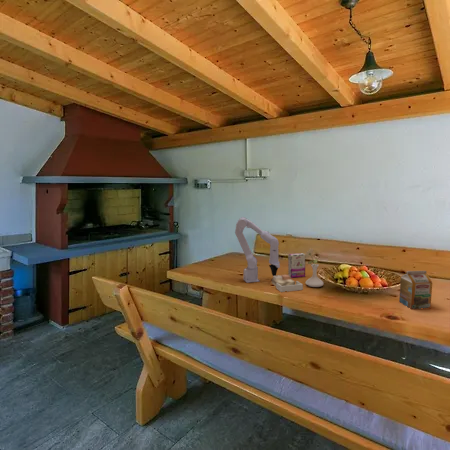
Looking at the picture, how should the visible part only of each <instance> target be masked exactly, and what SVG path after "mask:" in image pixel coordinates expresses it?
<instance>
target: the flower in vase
mask: <svg viewBox="0 0 450 450" xmlns="http://www.w3.org/2000/svg"><path fill="white" fill-rule="evenodd" d="M308 249H309V250H307V251H306V253H304V254H305V255H304V256H305V259H308V258H309V257H311V260H309V261H308V263H307V264H308V265H310V266H311V267H312V276H311V277H309V278H308V279H306V281H305V283H304V284H306V286H308V287H311V288H312V287H313V288H319V287H322V286H323V285H324V281H323V280H322V279H320V278H319V277H318V275H317V271H318V267H319V265H320V264H318V258H315V259H313V257H312V254H313V253H314V249H313V247H311V248H308Z"/></svg>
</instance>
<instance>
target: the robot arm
mask: <svg viewBox="0 0 450 450" xmlns="http://www.w3.org/2000/svg"><path fill="white" fill-rule="evenodd" d="M245 228H246V229H251V230H253V231H254V232H255V233H257V234H258V235H259V236H260V238H261V239H262V240H263V241H265V242H266V243H267V244H269V245H270V247H269V259H268V263H269V265H268V266H269V269H270V272H271V275H272V277H273V276H276V275H277V272H278V269H280V267H281V265H280V264H281V261H279V245H280V243H279V239H278V238H277V237H275V236H274V235H272V234H271V233H270V232H269V230H268V231H266V230H262V229H261V228H260V227H259V226H257V224H255V223H254V222H253V221H251V220H249V219H247V218H246V217H244V216H241V217H240V218H239V219H238V220H237V222H236V225H235V231H234V233H235V237H236V239H237V240H238V241H237V242H239V245H240V247H241V248H242V251H243V253H244V256H245V259H246V261H247V266H246V267H245V268H244V269H243V278H242V279H243V281H244V282H246V283H256V282H257V283H258V282H260V279H259V272H258V271H259V270H258V269H259V268H258V266H257V265H258V259H257V258H256V257H255V256H254V254H253V253H252V250H251V248H250V246H249V244H248V242H247V239H246V237H245V235H244V233H243V232H244V230H245Z"/></svg>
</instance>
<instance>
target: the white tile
mask: <svg viewBox="0 0 450 450" xmlns="http://www.w3.org/2000/svg"><path fill="white" fill-rule="evenodd" d="M272 279H274V280H276V281H277V280H282V277H281V274H280V275H279V274H278V275H277V274H276V276H273V275H272Z"/></svg>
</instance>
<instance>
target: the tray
mask: <svg viewBox="0 0 450 450" xmlns="http://www.w3.org/2000/svg"><path fill="white" fill-rule="evenodd" d="M275 288H276V289H277V290H278V291H279V292H280V293H285V291H287V292H295V291H303V290H304V284H303V283H301V282H300V281H299V280H296V281H295V285H288V286H281V285H280V284H278V283H276V286H275Z"/></svg>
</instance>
